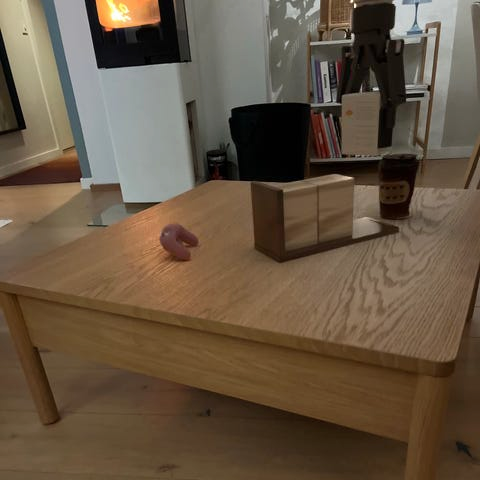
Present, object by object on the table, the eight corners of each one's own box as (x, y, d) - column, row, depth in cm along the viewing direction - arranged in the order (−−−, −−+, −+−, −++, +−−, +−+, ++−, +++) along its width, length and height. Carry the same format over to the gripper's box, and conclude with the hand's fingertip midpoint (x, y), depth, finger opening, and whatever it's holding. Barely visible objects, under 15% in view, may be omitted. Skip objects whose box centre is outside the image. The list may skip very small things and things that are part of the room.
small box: (392, 151, 90) (396, 90, 85) (377, 156, 87) (380, 93, 82) (356, 149, 96) (358, 91, 91) (340, 154, 92) (341, 94, 87)
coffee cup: (409, 223, 101) (415, 159, 95) (370, 220, 105) (373, 159, 99) (418, 212, 107) (424, 151, 101) (381, 209, 111) (384, 151, 105)
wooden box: (399, 231, 96) (404, 165, 90) (279, 262, 86) (276, 190, 80) (366, 221, 104) (369, 159, 98) (254, 248, 94) (249, 181, 88)
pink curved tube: (183, 251, 100) (164, 223, 98) (201, 241, 99) (182, 212, 96) (172, 269, 92) (151, 238, 89) (192, 258, 90) (171, 227, 88)
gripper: (317, 14, 88) (317, 142, 98) (402, -6, 70) (391, 153, 80) (350, 12, 90) (346, 138, 101) (440, -7, 73) (424, 147, 83)
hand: (366, 144), depth 91 cm, fingers closed on small box, 9 cm apart
